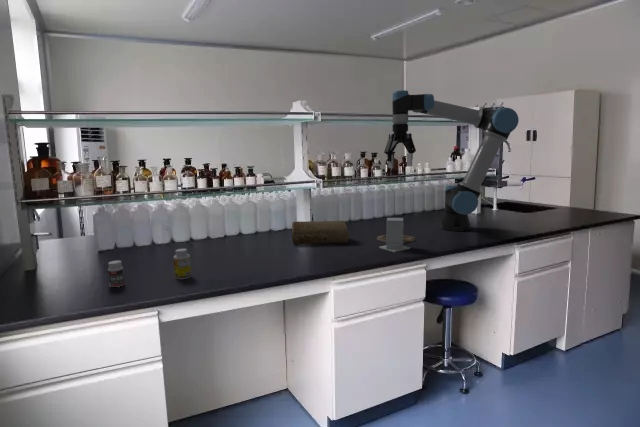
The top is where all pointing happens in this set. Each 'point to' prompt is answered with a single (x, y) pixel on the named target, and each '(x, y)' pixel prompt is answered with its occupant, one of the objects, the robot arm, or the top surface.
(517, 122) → the robot arm
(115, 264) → the pill bottle
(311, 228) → the core sample
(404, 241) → the wooden collar
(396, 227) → the supplement box
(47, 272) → the top surface
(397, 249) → the sage pad
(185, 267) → the supplement bottle
